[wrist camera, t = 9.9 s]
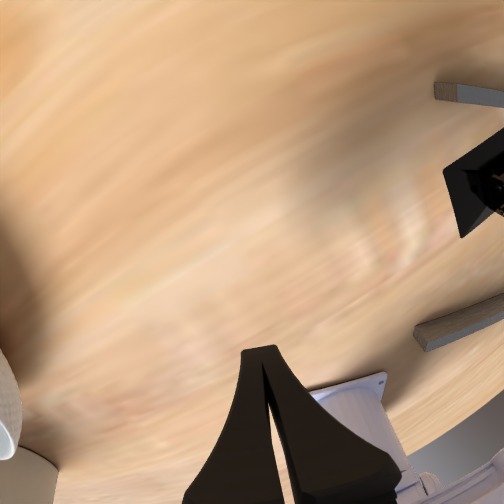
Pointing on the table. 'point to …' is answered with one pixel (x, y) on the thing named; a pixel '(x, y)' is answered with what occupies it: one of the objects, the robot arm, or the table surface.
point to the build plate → (477, 183)
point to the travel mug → (27, 479)
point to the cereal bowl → (9, 410)
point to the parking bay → (488, 310)
